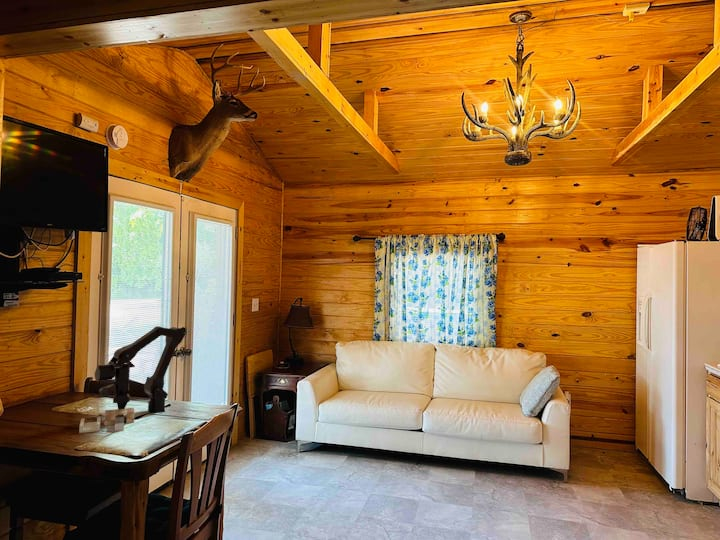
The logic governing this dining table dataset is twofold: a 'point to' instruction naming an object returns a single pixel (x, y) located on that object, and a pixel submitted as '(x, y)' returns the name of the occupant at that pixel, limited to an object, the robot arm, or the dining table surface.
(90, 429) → the cradle
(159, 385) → the robot arm
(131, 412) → the tan u-shaped block
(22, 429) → the dining table surface
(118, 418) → the pinkish brown square bar
